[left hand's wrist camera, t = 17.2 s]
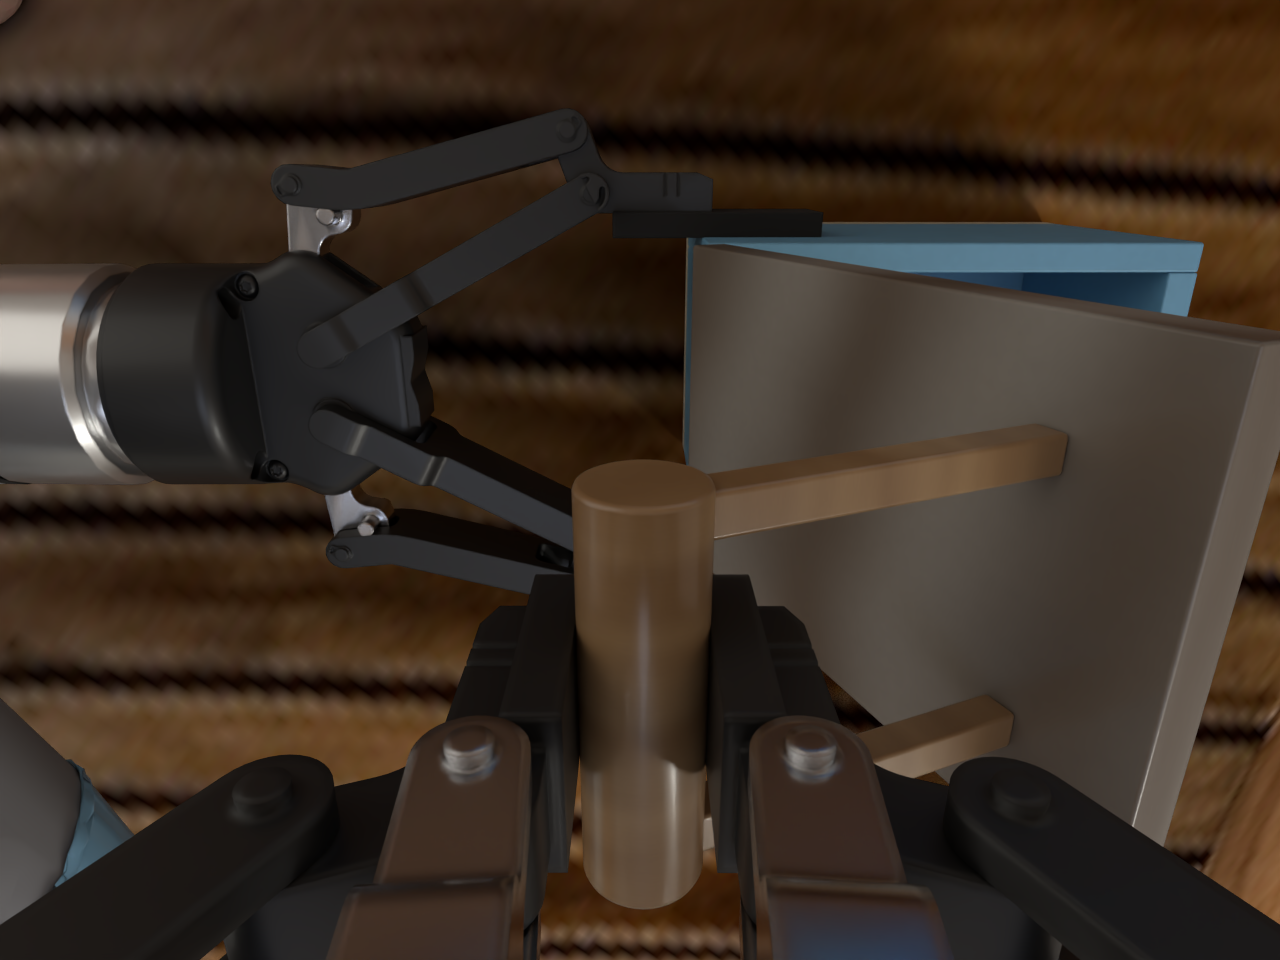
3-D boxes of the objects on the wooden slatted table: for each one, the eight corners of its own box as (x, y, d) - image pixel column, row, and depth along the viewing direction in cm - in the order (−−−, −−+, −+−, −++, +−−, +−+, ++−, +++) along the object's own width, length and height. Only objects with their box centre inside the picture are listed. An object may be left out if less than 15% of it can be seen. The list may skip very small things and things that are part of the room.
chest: (1043, 222, 33) (1205, 242, 24) (1006, 443, 36) (1135, 538, 27) (686, 222, 33) (706, 242, 23) (682, 444, 36) (698, 539, 27)
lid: (1315, 335, 10) (672, 414, 7) (1148, 904, 13) (661, 1139, 10) (724, 243, 23) (405, 255, 20) (714, 544, 26) (439, 596, 23)
